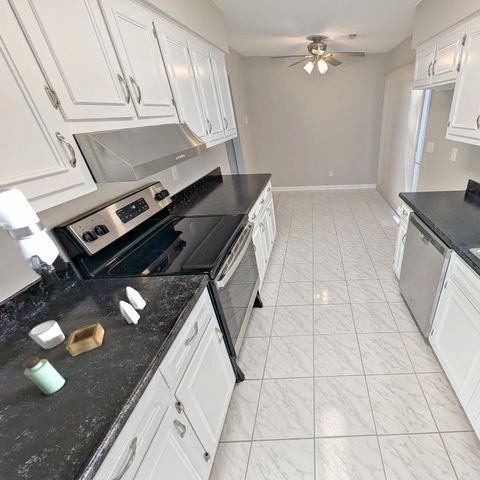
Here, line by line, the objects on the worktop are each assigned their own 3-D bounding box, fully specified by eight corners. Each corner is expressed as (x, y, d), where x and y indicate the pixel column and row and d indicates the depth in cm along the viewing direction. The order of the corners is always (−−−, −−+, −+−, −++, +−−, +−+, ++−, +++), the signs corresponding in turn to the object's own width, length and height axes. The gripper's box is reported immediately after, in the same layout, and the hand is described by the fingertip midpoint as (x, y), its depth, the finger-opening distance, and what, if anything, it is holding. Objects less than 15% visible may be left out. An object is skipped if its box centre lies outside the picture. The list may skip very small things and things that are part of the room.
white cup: (36, 347, 86) (23, 333, 83) (60, 332, 92) (49, 318, 88) (47, 353, 84) (34, 338, 80) (71, 336, 89) (60, 322, 86)
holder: (72, 356, 82) (65, 348, 80) (77, 340, 88) (71, 332, 86) (101, 345, 85) (95, 337, 83) (104, 330, 91) (98, 322, 89)
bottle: (41, 397, 70) (14, 371, 65) (46, 384, 74) (21, 358, 68) (62, 388, 72) (38, 362, 67) (66, 375, 76) (44, 350, 70)
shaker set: (138, 303, 102) (126, 282, 97) (149, 301, 103) (137, 280, 98) (124, 326, 92) (110, 303, 87) (137, 323, 93) (123, 300, 87)
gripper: (20, 224, 81) (51, 267, 90) (-5, 245, 68) (34, 294, 76) (51, 217, 85) (78, 260, 93) (32, 237, 71) (66, 285, 79)
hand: (58, 275), depth 84 cm, fingers open, 9 cm apart
